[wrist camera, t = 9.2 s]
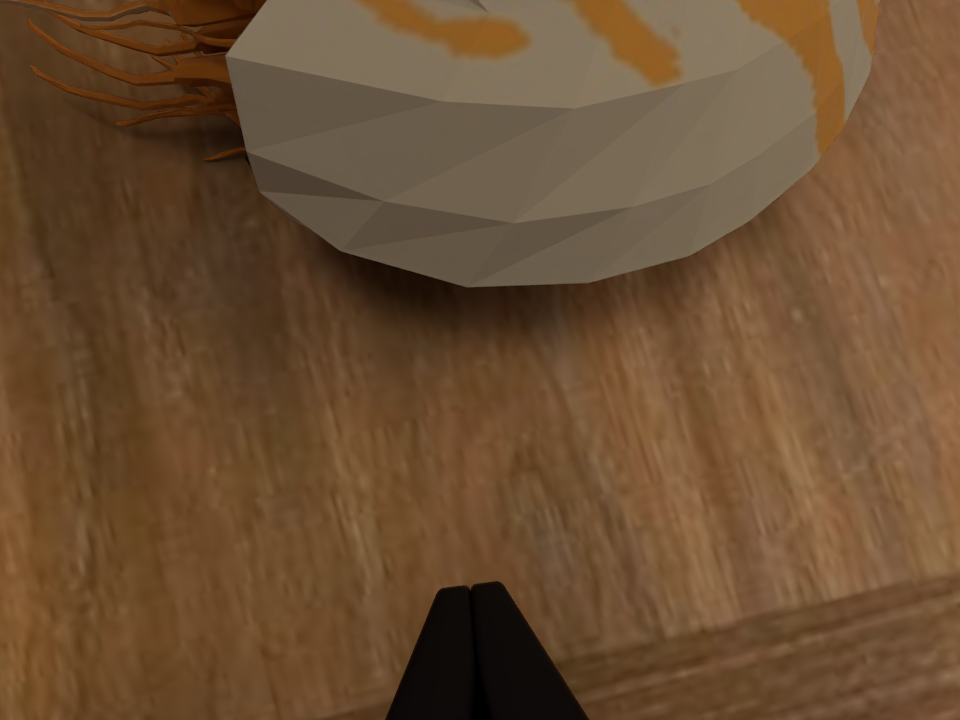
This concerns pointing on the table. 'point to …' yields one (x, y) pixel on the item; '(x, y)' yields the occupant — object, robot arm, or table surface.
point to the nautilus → (510, 119)
